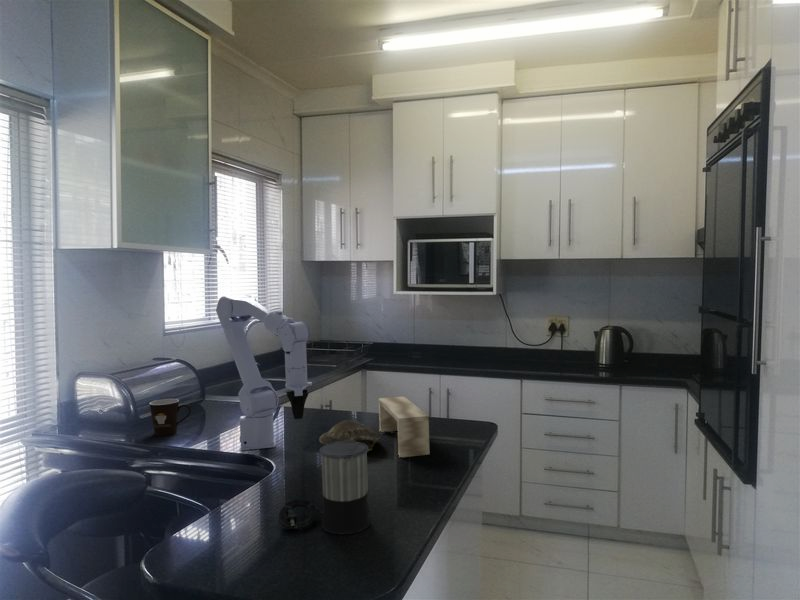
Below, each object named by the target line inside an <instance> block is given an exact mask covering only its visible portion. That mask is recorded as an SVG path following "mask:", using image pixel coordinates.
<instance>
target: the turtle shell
mask: <svg viewBox="0 0 800 600" xmlns="http://www.w3.org/2000/svg"><path fill="white" fill-rule="evenodd" d="M318 439H319V440H318V441H319V442H320V444H322V446H325V445H327V444H330V443H335V442H343V441H354V442H360V443H363V444H365V445H367V446H368V450H367V453H368V452H371V451H372V450H374V449H373V447H374V445H375V444H376V443H378V441H380V440H381V436H379V434H378V433H377V432H376V431H375V430H374V429H373V428H371V427H370V426H367V425H365V424H363V423H361V422H358V421H355V420H351V419H345V420H342V421H340V422H338V423H336V424H335V425H333V426H332V427H331V428H330V429H329V430H328V431H327V432H324V433H322V434H321V436H319V438H318Z"/></svg>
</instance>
